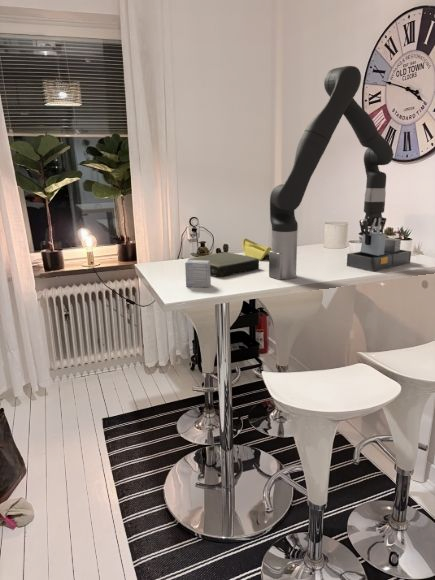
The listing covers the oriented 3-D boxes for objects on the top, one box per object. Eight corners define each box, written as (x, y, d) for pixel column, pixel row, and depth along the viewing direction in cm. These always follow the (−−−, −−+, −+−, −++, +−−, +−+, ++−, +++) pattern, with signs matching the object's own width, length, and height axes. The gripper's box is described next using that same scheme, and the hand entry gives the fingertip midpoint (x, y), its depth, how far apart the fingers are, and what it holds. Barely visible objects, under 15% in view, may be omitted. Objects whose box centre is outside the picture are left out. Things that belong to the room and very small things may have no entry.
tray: (373, 271, 162) (375, 245, 160) (346, 265, 173) (348, 241, 170) (410, 263, 175) (413, 239, 172) (383, 258, 185) (385, 235, 182)
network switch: (263, 268, 172) (263, 256, 171) (225, 280, 156) (225, 267, 154) (220, 261, 188) (220, 250, 186) (182, 271, 171) (181, 259, 170)
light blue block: (378, 255, 164) (380, 235, 162) (361, 251, 171) (363, 232, 168) (383, 254, 166) (386, 234, 164) (366, 250, 173) (369, 231, 170)
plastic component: (282, 253, 190) (266, 245, 184) (275, 268, 191) (259, 261, 185) (257, 243, 206) (241, 236, 200) (250, 257, 207) (235, 251, 201)
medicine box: (211, 284, 149) (210, 260, 147) (208, 288, 145) (207, 263, 142) (189, 283, 151) (188, 259, 148) (185, 287, 146) (184, 262, 144)
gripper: (371, 201, 157) (367, 247, 162) (394, 199, 164) (390, 243, 169) (354, 200, 163) (351, 245, 168) (378, 198, 170) (374, 241, 175)
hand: (371, 244), depth 168 cm, fingers closed on light blue block, 3 cm apart
